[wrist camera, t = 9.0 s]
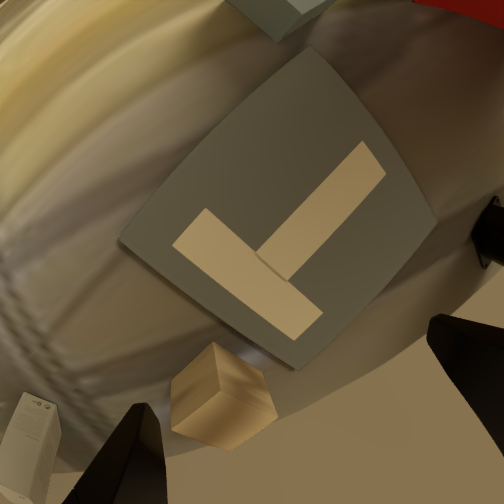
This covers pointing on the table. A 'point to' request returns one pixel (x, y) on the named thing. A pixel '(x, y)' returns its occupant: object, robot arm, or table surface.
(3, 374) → the table surface
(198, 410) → the birch block
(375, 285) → the letter board
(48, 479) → the skincare box
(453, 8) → the book
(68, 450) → the table surface
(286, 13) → the grey cube
